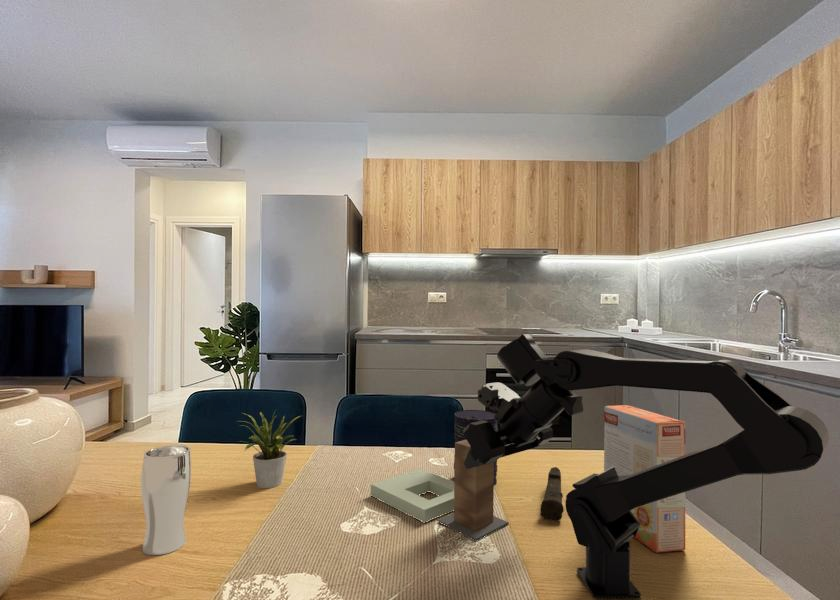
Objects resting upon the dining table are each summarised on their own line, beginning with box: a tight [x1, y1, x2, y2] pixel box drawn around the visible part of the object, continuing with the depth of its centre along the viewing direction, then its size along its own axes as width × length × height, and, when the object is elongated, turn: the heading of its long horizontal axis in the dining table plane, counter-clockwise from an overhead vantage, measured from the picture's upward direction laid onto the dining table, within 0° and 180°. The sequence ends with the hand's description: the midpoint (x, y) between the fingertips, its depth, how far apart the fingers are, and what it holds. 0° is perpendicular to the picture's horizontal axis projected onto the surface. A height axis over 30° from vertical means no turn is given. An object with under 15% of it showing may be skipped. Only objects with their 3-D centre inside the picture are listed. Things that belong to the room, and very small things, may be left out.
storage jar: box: [453, 409, 499, 486], centre depth 102 cm, size 10×10×15 cm
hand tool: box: [540, 466, 564, 522], centre depth 91 cm, size 19×4×5 cm, turn 159°
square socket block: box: [370, 468, 454, 522], centre depth 91 cm, size 16×14×2 cm
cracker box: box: [603, 404, 686, 554], centre depth 78 cm, size 14×6×21 cm, turn 12°
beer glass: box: [140, 444, 192, 556], centre depth 72 cm, size 7×7×15 cm
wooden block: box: [453, 440, 495, 531], centre depth 81 cm, size 5×5×14 cm
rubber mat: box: [437, 512, 509, 542], centre depth 80 cm, size 9×9×1 cm
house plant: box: [235, 409, 303, 489], centre depth 98 cm, size 14×14×16 cm
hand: (482, 460), depth 79 cm, fingers open, 9 cm apart
